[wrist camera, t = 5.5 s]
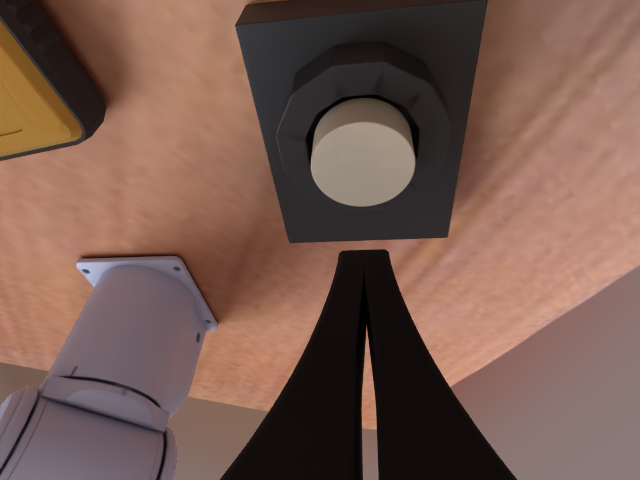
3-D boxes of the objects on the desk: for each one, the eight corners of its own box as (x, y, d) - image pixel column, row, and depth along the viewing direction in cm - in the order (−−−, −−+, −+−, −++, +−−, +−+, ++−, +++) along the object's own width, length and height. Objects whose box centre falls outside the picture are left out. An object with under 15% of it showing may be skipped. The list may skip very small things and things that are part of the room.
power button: (408, 178, 18) (412, 204, 17) (319, 182, 18) (316, 209, 17) (413, 93, 15) (419, 117, 14) (307, 101, 16) (303, 126, 14)
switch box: (441, 211, 24) (452, 262, 21) (292, 217, 25) (285, 267, 22) (475, -21, 15) (501, 17, 13) (245, 4, 16) (224, 44, 14)
